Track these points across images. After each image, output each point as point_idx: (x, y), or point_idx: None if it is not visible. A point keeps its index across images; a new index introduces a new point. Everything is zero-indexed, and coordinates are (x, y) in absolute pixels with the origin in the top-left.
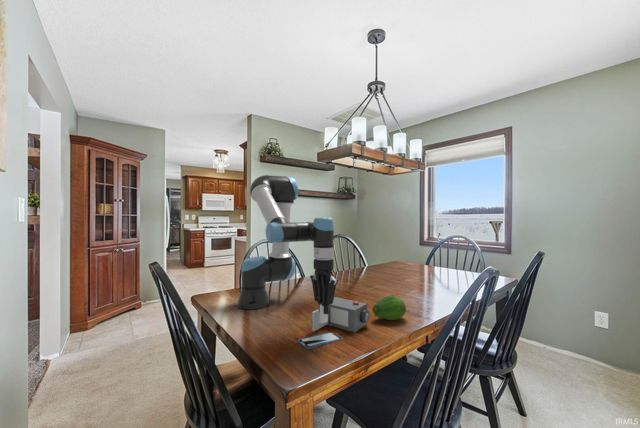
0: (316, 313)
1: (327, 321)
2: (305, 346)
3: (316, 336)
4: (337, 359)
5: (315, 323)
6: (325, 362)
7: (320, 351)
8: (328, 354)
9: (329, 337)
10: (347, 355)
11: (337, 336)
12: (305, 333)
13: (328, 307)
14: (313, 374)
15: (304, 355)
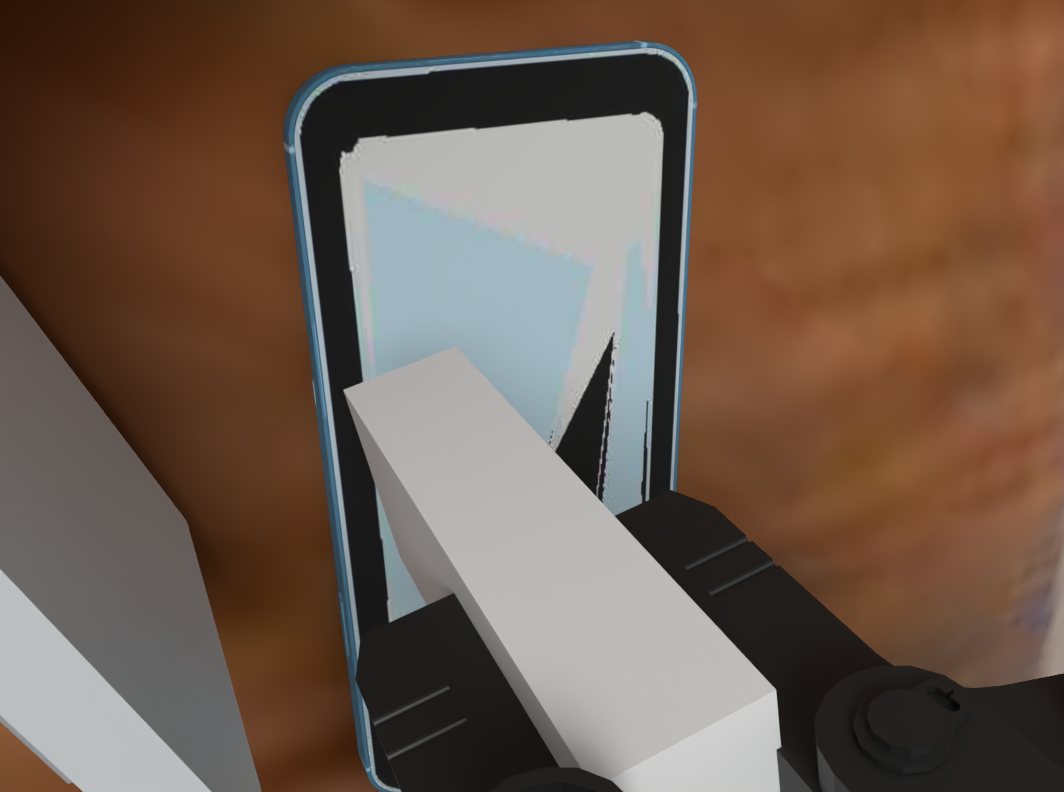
0: (196, 728)
1: (457, 353)
2: None
3: None
4: (1004, 412)
5: (179, 570)
6: (961, 547)
7: (773, 539)
8: (878, 470)
9: (531, 281)
10: (1029, 262)
11: (566, 102)
12: None
13: (834, 620)
14: (1009, 680)
15: None
